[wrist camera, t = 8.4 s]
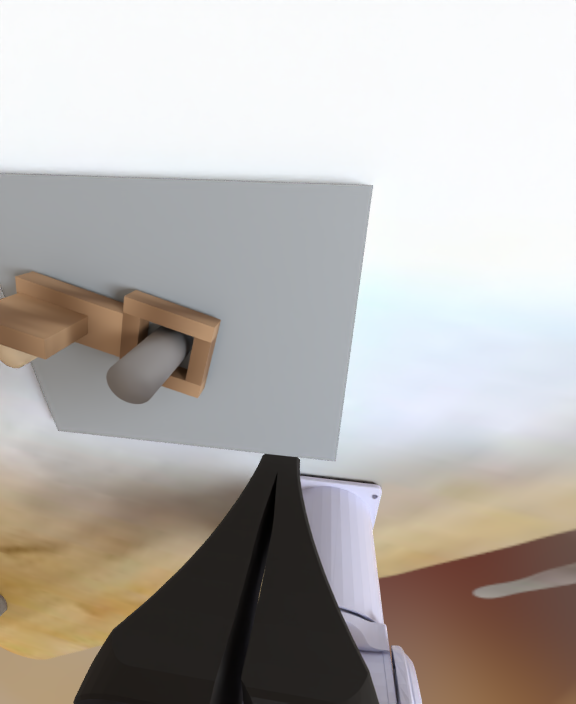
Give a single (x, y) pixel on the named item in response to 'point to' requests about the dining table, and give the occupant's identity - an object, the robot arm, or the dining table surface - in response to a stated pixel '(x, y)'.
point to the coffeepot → (2, 605)
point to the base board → (198, 303)
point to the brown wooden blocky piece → (101, 325)
